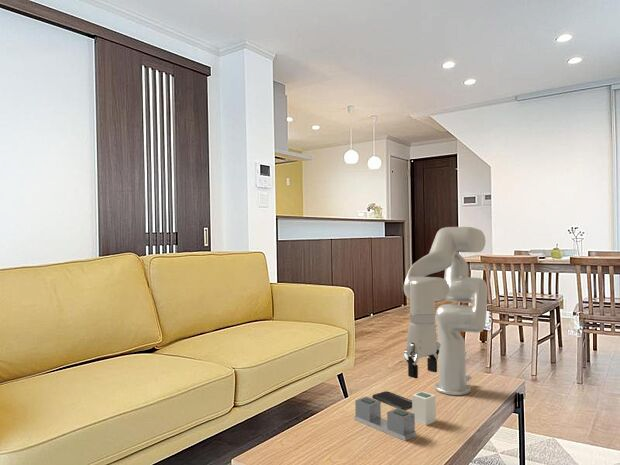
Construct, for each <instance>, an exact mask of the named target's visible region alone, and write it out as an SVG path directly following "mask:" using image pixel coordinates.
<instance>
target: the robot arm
mask: <svg viewBox="0 0 620 465" xmlns="http://www.w3.org/2000/svg"><path fill="white" fill-rule="evenodd" d="M485 246H486V237H485V234H484V232H483V230H481V229H478V228H476V227H472V226H446V227H442V228H440V229H439V230H438V231H437V232H436V234H435V237H434V239H433V242H432V244H431V248H430V250H429V252H428V254H426V255H424V256H422V257H421V258H419V259H418V260H417V261H415V262H414V263H413V264H412V265H411V266H410V267H409V269H408V271H407V274H406V276H405V280H404V282H403V292H404V296H405V297H407V298H408V299H409V308H410V309H409V310H410V311H409V314H410V315H409V318H410V319H409V322H410V323H409V324H408V327H407V333H406V334H407V335H406V348H405V349H404V350H403V355H404V358H405V359H404V360H405V361H406V364H407V366H408V367H407V369H408V370H407V372H408V373H407V374H408V375H407V376H408V377H409V378H414V379H418V377H419V365H418V364H417V363H418V361H419V359H422V358H427V371H428V372H432V373H437V372H438V382H437V383H435V384H434V389H435V390H436V392H439V393H441V394H445V395H448V396H449V395H452V396H464V395H467V394H470V392H471V387H470V386H469V385H468V384H467V382H468V381H471V380H472V376H471V375H470V374H468V375H467V374H466V372H467V371H466V370H467V369H466V366H467V365H466V364H467V360H466V341H465V339H464V337H463V336H462V335H461V333H460V332H465V333H474V334H477V333H481V332H483V331H484V330H485V327H486V323H487V322H486V320H487V307H488V285H487V282H486V281H485V280H484V279H483V278H481V277H471V276H468V275H469V264H468V262H467V260H466V259H465V258H464V256H462V255H461V254H460V253H481V252H482V251H484V249H485ZM442 271H444V277H443V278H442V277H437V276H435V277H434V276H429V275H432V274H435V273H439V272H442ZM444 300H446V301H448V302H453V304H452V303H451V304H450V303H449V304H448V303H446V304H445V303H444V304H441V305H439V306H437V308H436V302H438V301H439V302H441V301H444ZM454 303H464V304H465V303H466V304H471V305H463V304H454ZM436 326H437V328H436ZM437 334H438V335H437ZM437 336H438V337H437Z"/></svg>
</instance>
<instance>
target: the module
mask: <svg viewBox="0 0 620 465" xmlns="http://www.w3.org/2000/svg"><path fill="white" fill-rule="evenodd" d="M411 400H412V407H411V410H412V411H411V413H414V414H415V423H417V424H420V425H423V426H427V425H430V424H432V423H434V422H436V394H432V393H430V392H429V393H428V392H427V391H426V392H425V391H423V390H422V391H419V392H416V393H413V394H412V395H411Z"/></svg>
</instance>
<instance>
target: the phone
mask: <svg viewBox="0 0 620 465" xmlns="http://www.w3.org/2000/svg"><path fill="white" fill-rule="evenodd" d="M371 398H372V399H375V400H377V401H380V402H381V403H383V404H385V405H389V407H393V408H395V409H397V408H400V409H402V410H405V411H406V410H408V409H412V399H409V398H406V397H405V396H401V395H398V394H397V393H393V392H391V391H388V390H387V391H381V392H379V393H375V394H373V395H372V397H371Z"/></svg>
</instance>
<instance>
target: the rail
mask: <svg viewBox="0 0 620 465" xmlns="http://www.w3.org/2000/svg"><path fill="white" fill-rule="evenodd" d="M381 403H382V402H381V401H378V400H376V399H373V398H372V397H369V396H364V397H361V398H359V399H355V404H354V405H355V415H354V420H355V421H357V422H360V423H362V424H364V425H366V426H368V427H371V428H373V429H376V430H378V431H381V432H384V433H385V434H388V435H390V436H391V437H394V438H397V439H400V440H402V441H404V442H406V441H408V440H411V439H413V438H414V437H416V436H417V431H416V422H415V414H414V413H412V411H408V410H406V409H405V410H402V409H400V408H395V409H392V410H390V411H388V412H386V413H387V414H386V418H387V419H385V418H383V417H382V415H381V414H382V408H381Z"/></svg>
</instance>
